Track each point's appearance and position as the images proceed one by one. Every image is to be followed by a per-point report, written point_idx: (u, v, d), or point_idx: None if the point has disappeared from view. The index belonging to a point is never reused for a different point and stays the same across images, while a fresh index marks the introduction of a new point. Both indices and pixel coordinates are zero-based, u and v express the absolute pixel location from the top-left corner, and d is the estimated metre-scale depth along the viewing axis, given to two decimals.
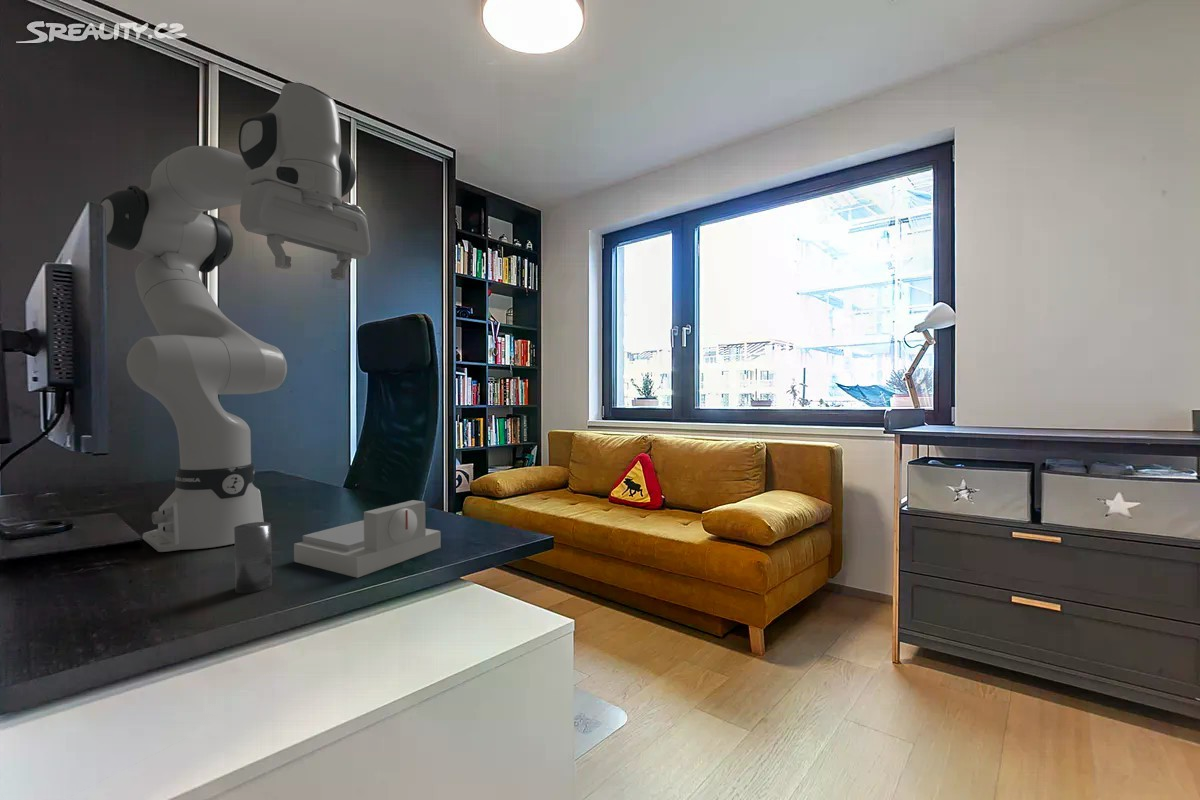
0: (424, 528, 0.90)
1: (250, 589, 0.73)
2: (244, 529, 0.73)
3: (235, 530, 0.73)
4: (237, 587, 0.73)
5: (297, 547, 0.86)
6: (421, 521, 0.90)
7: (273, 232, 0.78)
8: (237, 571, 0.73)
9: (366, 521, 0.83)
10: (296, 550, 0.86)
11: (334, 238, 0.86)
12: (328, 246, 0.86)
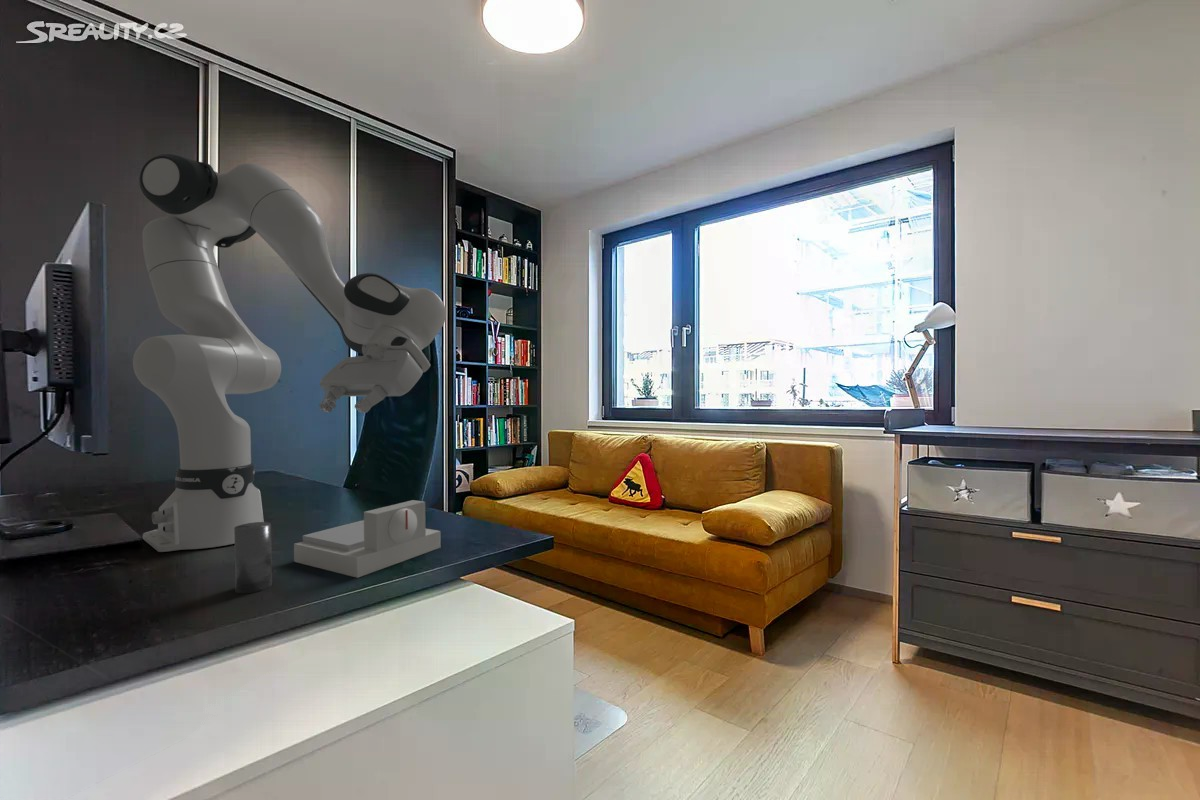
0: (424, 528, 0.90)
1: (250, 589, 0.73)
2: (244, 529, 0.73)
3: (235, 530, 0.73)
4: (237, 587, 0.73)
5: (297, 547, 0.86)
6: (421, 521, 0.90)
7: (390, 395, 0.87)
8: (237, 571, 0.73)
9: (366, 521, 0.83)
10: (296, 550, 0.86)
11: None
12: None
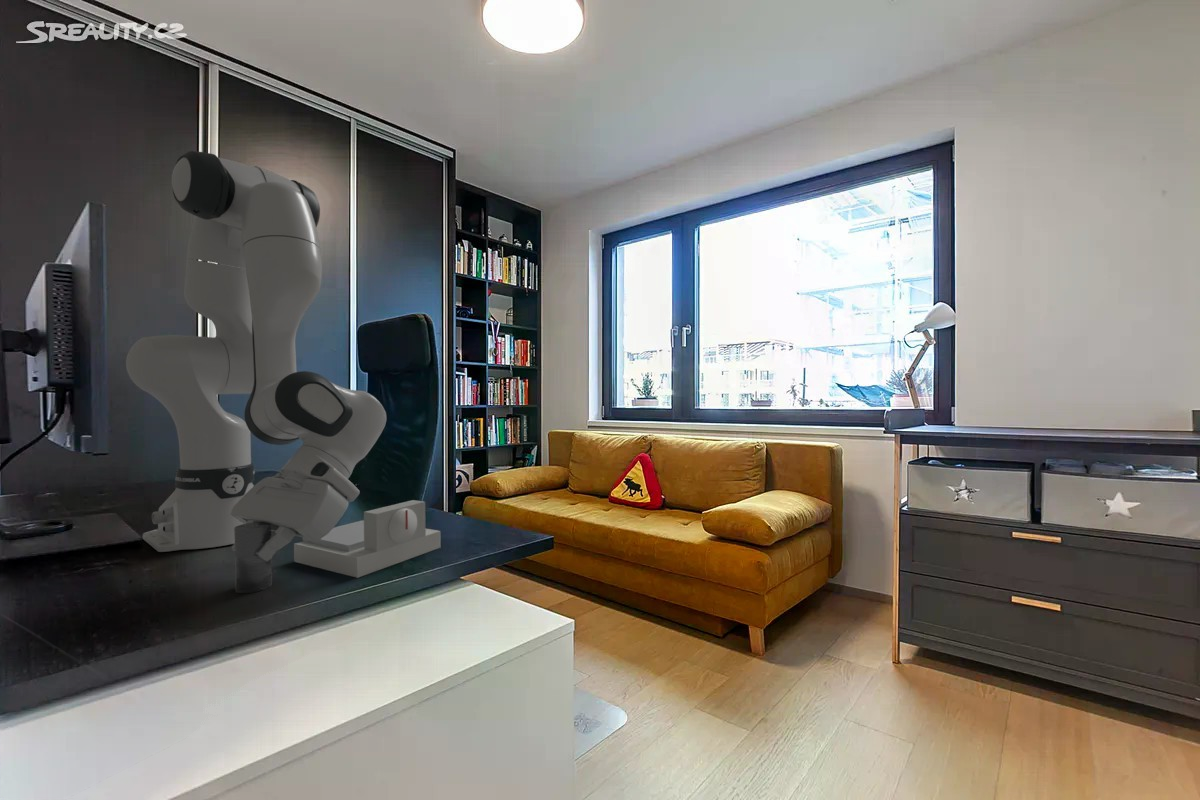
0: (424, 528, 0.90)
1: (250, 589, 0.73)
2: (244, 529, 0.73)
3: (235, 530, 0.73)
4: (237, 587, 0.73)
5: (297, 547, 0.86)
6: (421, 521, 0.90)
7: (307, 537, 0.75)
8: (237, 571, 0.73)
9: (366, 521, 0.83)
10: (296, 550, 0.86)
11: None
12: None
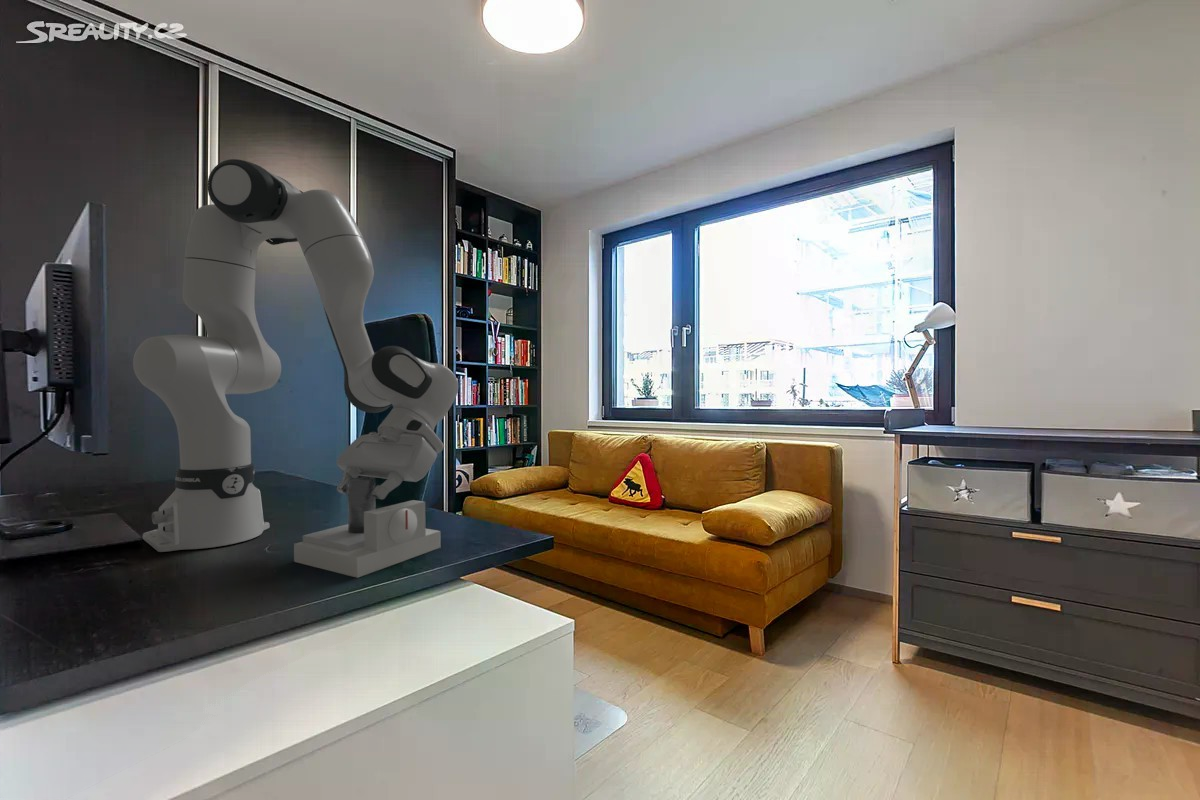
0: (424, 528, 0.90)
1: (361, 530, 0.89)
2: (356, 480, 0.89)
3: (349, 481, 0.89)
4: (351, 528, 0.89)
5: (297, 547, 0.86)
6: (421, 521, 0.90)
7: (406, 480, 0.90)
8: (351, 515, 0.89)
9: (366, 521, 0.83)
10: (296, 550, 0.86)
11: None
12: (373, 476, 0.95)
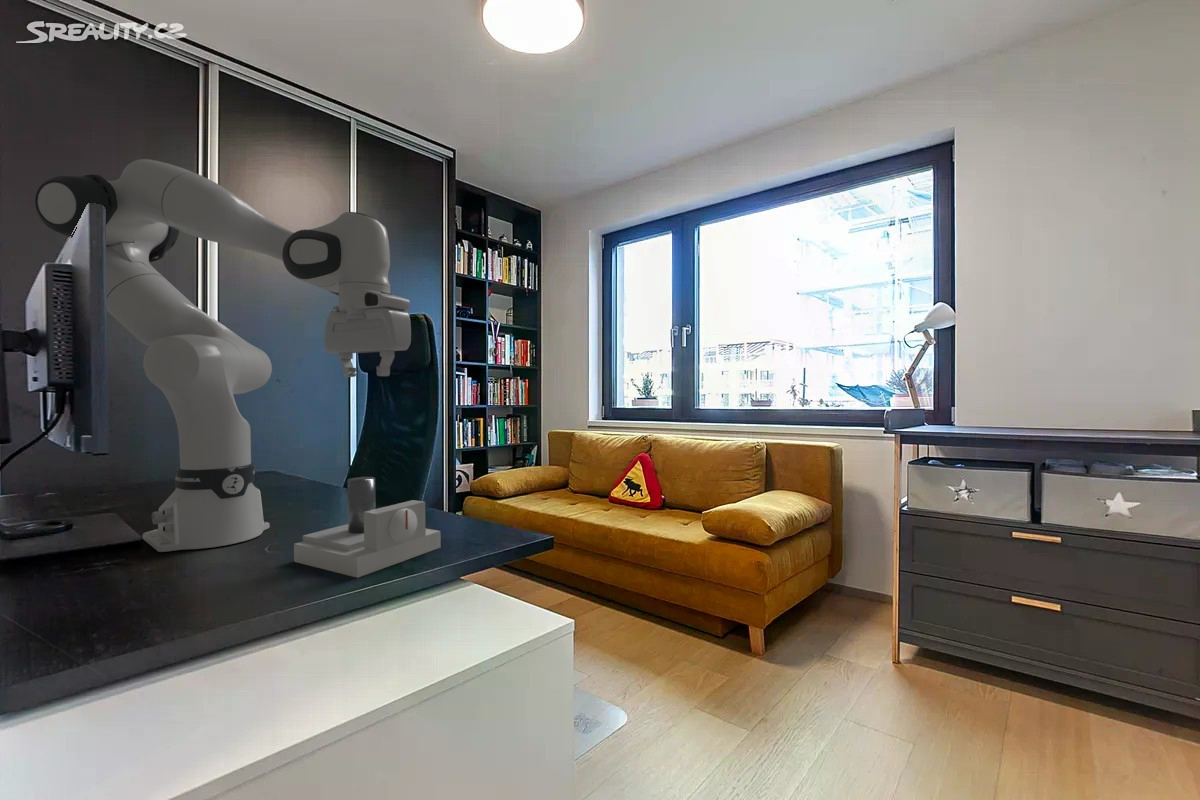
0: (424, 528, 0.90)
1: (361, 530, 0.89)
2: (356, 480, 0.89)
3: (349, 481, 0.89)
4: (351, 528, 0.89)
5: (297, 547, 0.86)
6: (421, 521, 0.90)
7: (397, 350, 0.95)
8: (351, 515, 0.89)
9: (366, 521, 0.83)
10: (296, 550, 0.86)
11: None
12: None
